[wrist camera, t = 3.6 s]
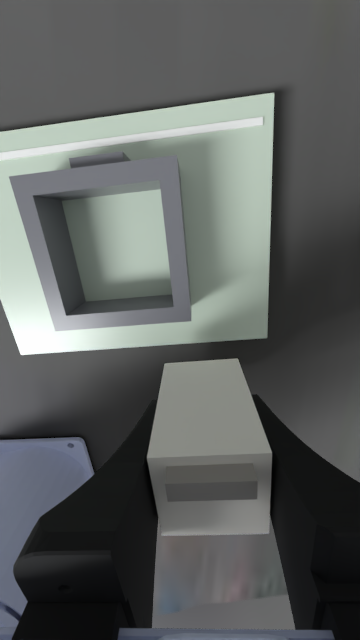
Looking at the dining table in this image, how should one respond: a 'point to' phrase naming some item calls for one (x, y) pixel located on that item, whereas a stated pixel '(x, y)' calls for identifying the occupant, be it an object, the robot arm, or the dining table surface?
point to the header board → (138, 227)
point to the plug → (209, 452)
